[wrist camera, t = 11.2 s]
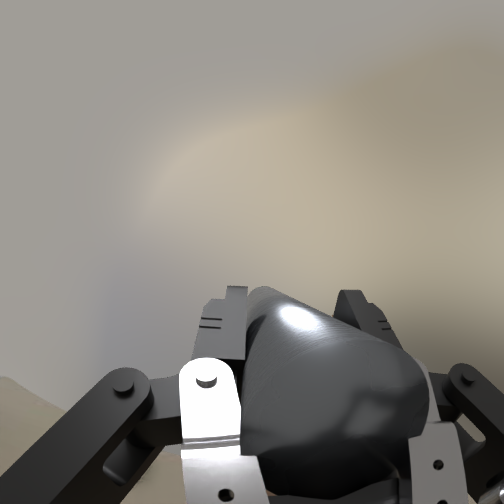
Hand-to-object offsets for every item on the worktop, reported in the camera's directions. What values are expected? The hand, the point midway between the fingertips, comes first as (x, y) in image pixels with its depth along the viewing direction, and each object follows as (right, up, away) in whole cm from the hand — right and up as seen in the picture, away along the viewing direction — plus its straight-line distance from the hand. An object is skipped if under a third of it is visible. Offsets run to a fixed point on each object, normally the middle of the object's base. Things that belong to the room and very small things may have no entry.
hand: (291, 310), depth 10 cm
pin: (0, -4, +5) cm, 6 cm away
